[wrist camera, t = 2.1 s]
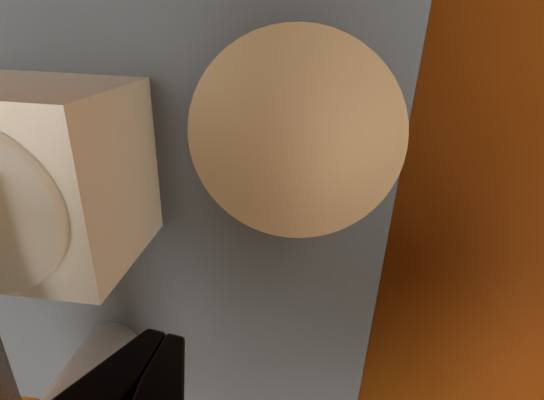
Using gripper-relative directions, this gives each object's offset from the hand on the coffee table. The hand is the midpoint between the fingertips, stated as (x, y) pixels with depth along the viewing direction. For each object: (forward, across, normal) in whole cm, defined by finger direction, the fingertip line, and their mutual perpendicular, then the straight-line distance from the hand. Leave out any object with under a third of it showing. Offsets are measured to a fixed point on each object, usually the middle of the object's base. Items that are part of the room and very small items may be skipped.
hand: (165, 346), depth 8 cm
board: (+8, +4, +3) cm, 9 cm away
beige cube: (+6, +6, -1) cm, 9 cm away
